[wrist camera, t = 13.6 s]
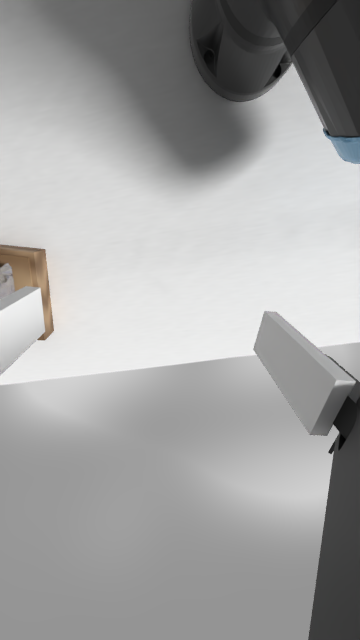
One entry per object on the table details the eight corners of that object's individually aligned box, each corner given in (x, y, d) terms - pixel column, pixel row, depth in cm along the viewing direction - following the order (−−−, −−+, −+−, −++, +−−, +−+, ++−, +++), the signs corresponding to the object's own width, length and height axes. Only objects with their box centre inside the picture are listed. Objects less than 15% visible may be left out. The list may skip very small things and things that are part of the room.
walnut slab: (-30, 241, 40) (-51, 244, 36) (45, 249, 41) (32, 252, 37) (-11, 326, 46) (-27, 336, 42) (53, 330, 47) (43, 341, 43)
